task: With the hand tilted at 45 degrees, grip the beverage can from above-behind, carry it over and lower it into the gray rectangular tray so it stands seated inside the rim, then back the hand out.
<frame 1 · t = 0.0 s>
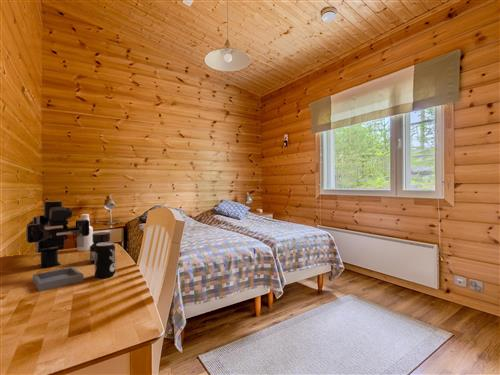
hand: (65, 233, 91), 17 cm above the table, tool horizontal, fingers open, 9 cm apart
ink bottle: (101, 260, 116), on the table
beverage can: (105, 276, 96), on the table
spray bottle: (85, 250, 134), on the table
gray rectangular tray: (58, 281, 91), on the table
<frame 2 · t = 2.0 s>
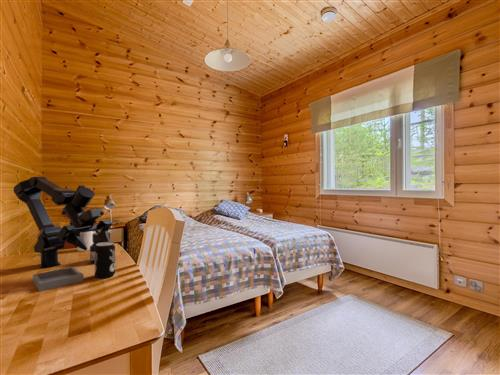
hand: (98, 246, 98), 10 cm above the table, tool tilted 45°, fingers open, 9 cm apart
nothing on the table moved.
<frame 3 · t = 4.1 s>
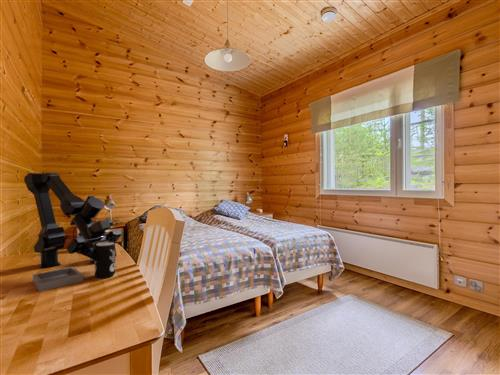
hand: (107, 258, 96), 7 cm above the table, tool tilted 45°, fingers closed on beverage can, 6 cm apart
beverage can: (105, 276, 96), on the table, touching gripper
everything else where it was.
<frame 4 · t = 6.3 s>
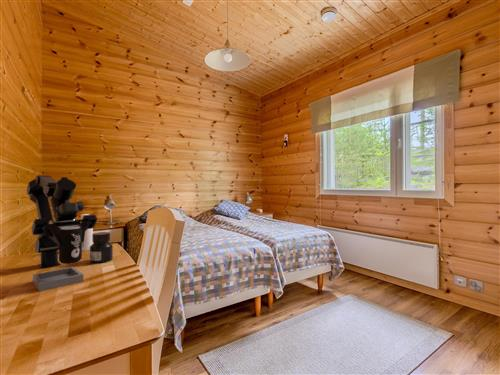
hand: (71, 243, 91), 13 cm above the table, tool tilted 45°, fingers closed on beverage can, 6 cm apart
beverage can: (70, 261, 92), point 6 cm above the table, touching gripper
everything else where it was.
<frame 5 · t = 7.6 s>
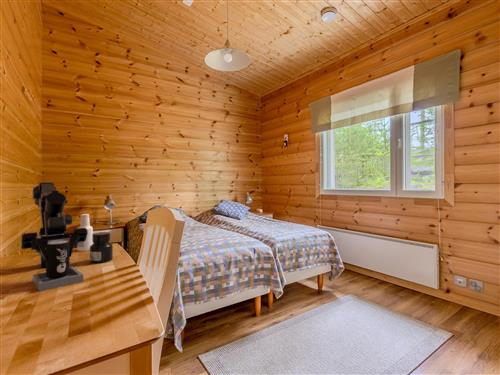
hand: (58, 257, 90), 8 cm above the table, tool tilted 45°, fingers closed on beverage can, 6 cm apart
beverage can: (58, 276, 91), point 2 cm above the table, touching gripper
everything else where it was.
when the fingers open (8 cm above the table, at t = 8.5 s): beverage can drops 1 cm, resting on gray rectangular tray.
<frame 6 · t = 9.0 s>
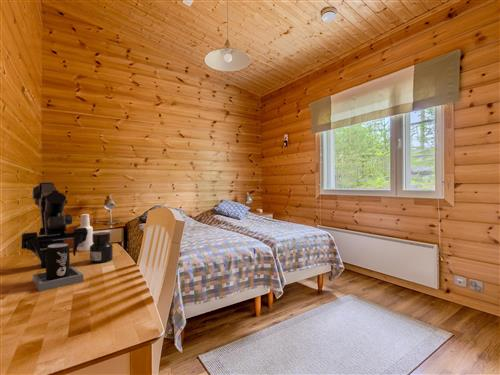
hand: (58, 257, 90), 9 cm above the table, tool tilted 45°, fingers open, 9 cm apart
beverage can: (58, 280, 91), resting on gray rectangular tray
everything else where it was.
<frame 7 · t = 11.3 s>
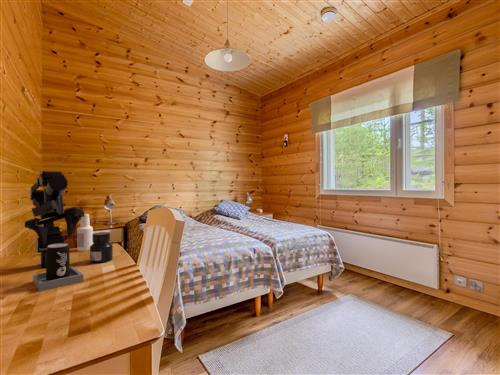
hand: (57, 240, 97), 13 cm above the table, tool tilted 25°, fingers open, 9 cm apart
nothing on the table moved.
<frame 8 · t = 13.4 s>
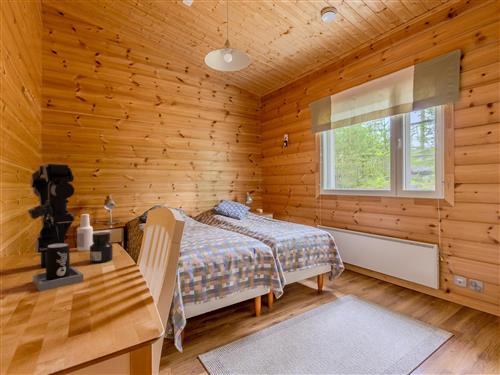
hand: (57, 238, 99), 13 cm above the table, tool pointing down, fingers open, 9 cm apart
nothing on the table moved.
at the end: beverage can 0.2 cm off-centre on the gray rectangular tray, point 0.4 cm above the gray rectangular tray's base; beverage can tilted 0°; the gripper is holding nothing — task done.
